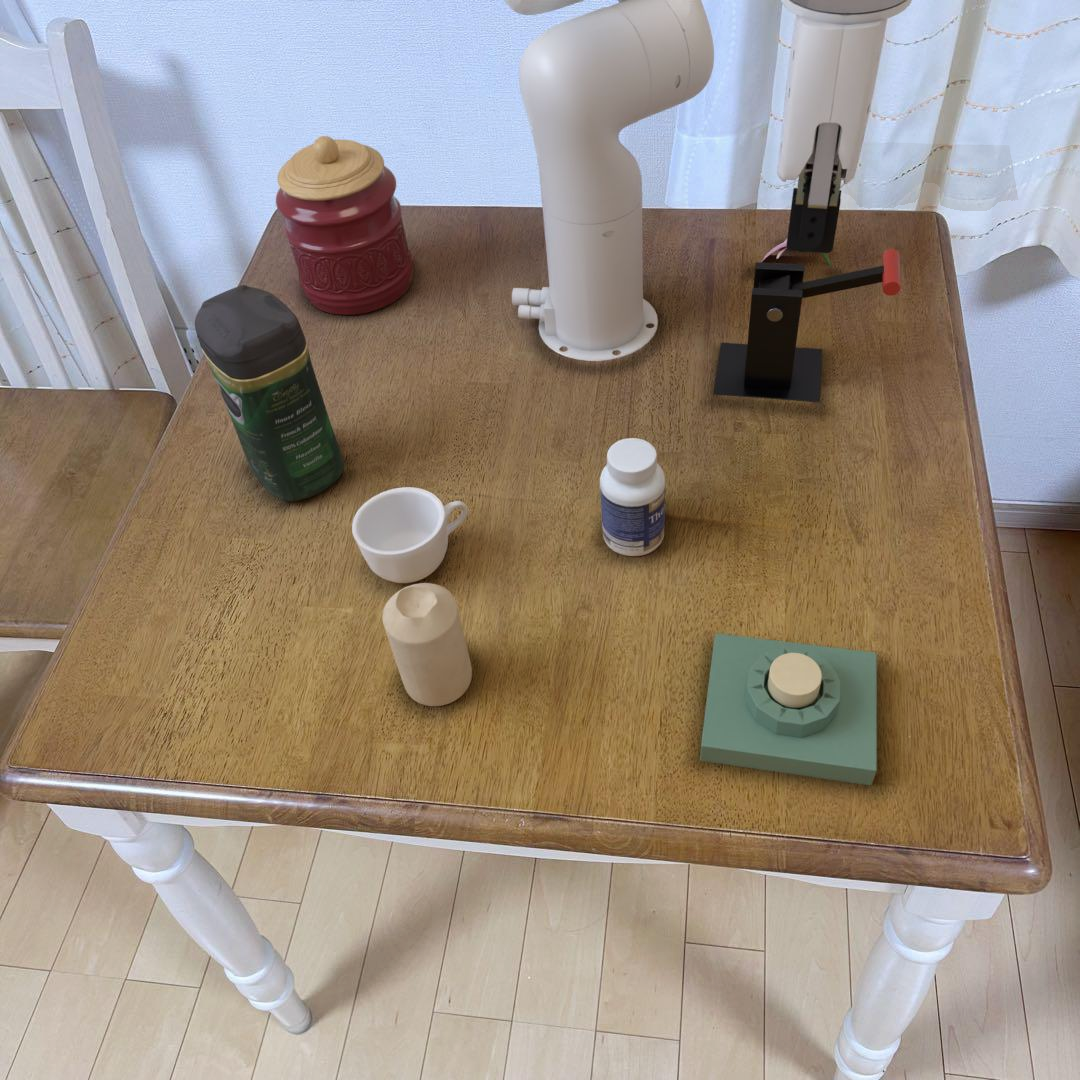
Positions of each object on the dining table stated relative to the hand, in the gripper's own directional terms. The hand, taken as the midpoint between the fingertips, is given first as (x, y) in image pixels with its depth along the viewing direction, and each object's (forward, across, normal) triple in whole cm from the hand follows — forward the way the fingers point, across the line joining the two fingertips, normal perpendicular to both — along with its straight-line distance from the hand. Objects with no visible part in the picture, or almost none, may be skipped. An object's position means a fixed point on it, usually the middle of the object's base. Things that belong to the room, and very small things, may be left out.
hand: (809, 245), depth 73 cm
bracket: (+25, -14, -2) cm, 29 cm away
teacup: (+25, +13, -29) cm, 41 cm away
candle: (+25, +25, -24) cm, 43 cm away
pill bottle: (+25, +8, -12) cm, 29 cm away
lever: (+14, -14, +3) cm, 21 cm away
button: (+21, +24, +3) cm, 32 cm away
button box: (+24, +24, +3) cm, 34 cm away
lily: (+25, -34, 0) cm, 42 cm away
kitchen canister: (+26, -26, -49) cm, 61 cm away
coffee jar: (+25, +4, -44) cm, 51 cm away
